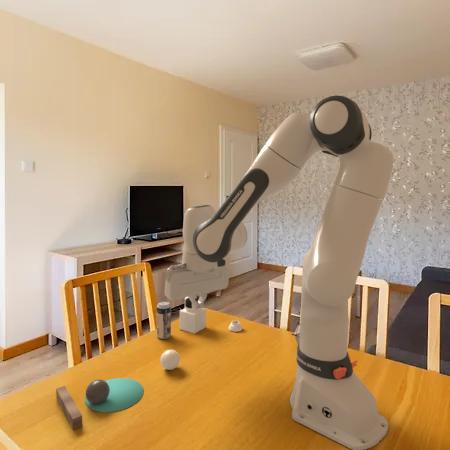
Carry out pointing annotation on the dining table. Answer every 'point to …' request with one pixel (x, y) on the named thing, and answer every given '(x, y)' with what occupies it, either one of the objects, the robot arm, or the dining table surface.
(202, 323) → the medicine bottle
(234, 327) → the white jar
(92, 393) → the dark grey ball
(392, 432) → the dining table surface
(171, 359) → the cue ball
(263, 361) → the dining table surface
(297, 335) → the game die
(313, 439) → the dining table surface
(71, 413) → the walnut rail
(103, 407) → the teal mark
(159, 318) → the beer can
